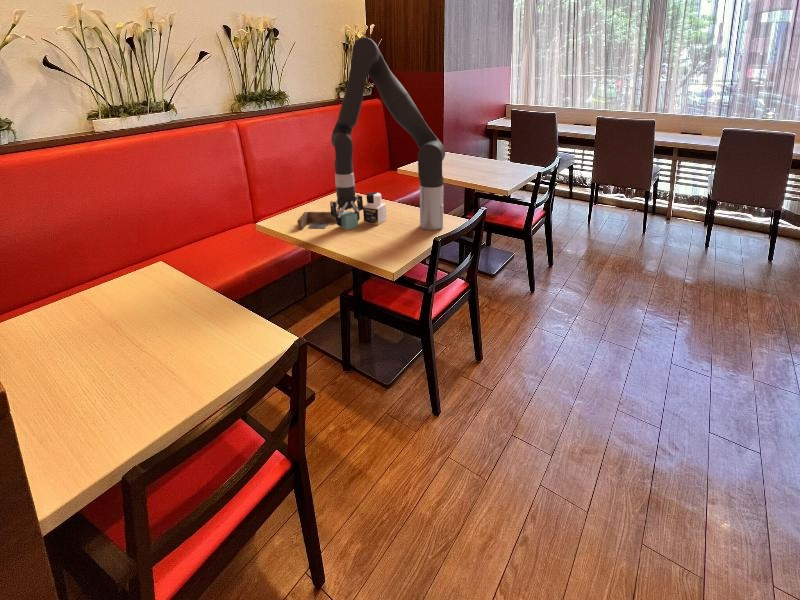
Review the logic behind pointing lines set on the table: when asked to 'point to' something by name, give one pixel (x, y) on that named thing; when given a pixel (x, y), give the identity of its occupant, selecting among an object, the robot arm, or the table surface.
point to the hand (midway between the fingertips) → (348, 223)
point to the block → (349, 220)
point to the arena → (315, 219)
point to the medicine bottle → (374, 209)
